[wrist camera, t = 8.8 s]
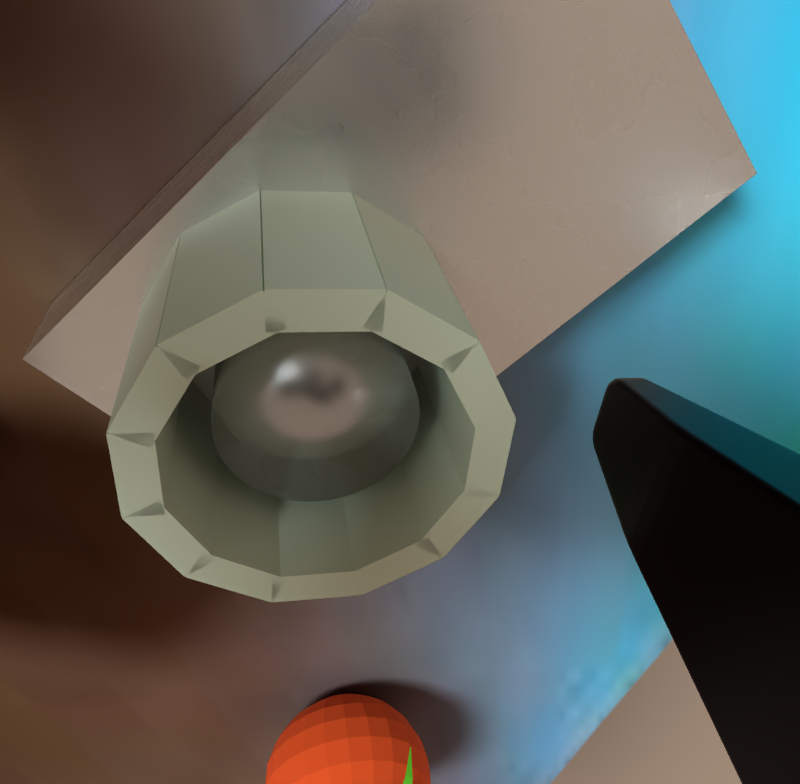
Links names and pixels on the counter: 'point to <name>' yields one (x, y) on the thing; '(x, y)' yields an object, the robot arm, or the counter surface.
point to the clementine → (349, 745)
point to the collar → (302, 312)
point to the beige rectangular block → (425, 207)
